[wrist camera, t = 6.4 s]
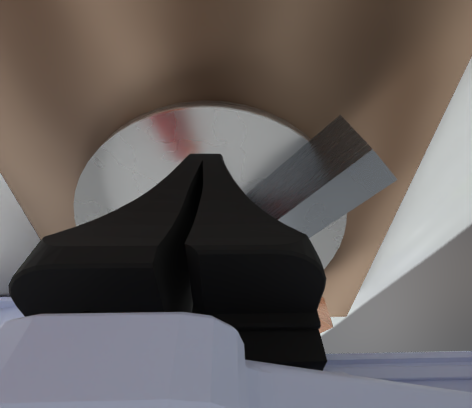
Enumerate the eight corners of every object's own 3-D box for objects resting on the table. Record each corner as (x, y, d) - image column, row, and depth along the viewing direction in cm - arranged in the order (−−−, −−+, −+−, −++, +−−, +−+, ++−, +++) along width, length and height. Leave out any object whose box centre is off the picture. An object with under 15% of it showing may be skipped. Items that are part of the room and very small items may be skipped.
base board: (96, 303, 23) (88, 320, 22) (-72, -12, 10) (-111, -13, 9) (340, 300, 24) (346, 316, 22) (470, -4, 11) (500, -4, 10)
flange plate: (39, 233, 15) (-11, 295, 12) (221, -28, 9) (217, -41, 6) (242, 328, 22) (244, 384, 19) (429, 224, 16) (481, 282, 12)
